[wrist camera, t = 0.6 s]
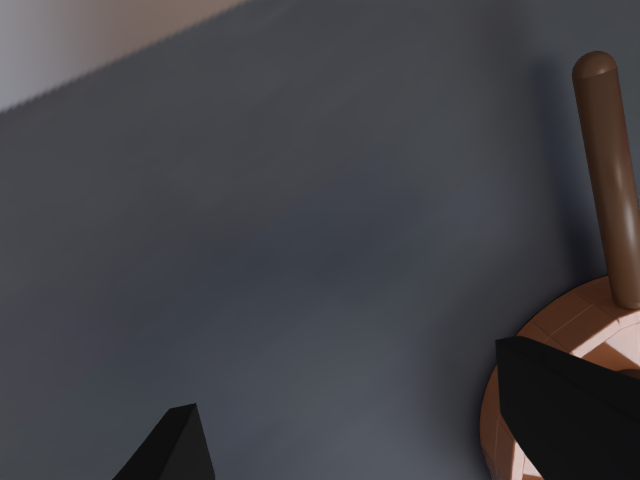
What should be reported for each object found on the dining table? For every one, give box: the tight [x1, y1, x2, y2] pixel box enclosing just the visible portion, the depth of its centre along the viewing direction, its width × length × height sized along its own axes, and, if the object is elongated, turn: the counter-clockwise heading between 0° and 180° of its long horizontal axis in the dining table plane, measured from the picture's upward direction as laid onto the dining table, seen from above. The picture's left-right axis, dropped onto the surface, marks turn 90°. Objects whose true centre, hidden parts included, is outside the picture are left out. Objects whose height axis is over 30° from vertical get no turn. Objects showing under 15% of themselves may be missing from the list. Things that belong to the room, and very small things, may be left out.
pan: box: [480, 276, 640, 480], centre depth 24 cm, size 14×14×3 cm
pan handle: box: [572, 51, 640, 310], centre depth 19 cm, size 10×1×1 cm, turn 19°
